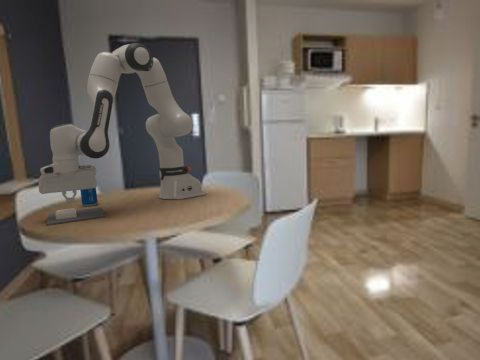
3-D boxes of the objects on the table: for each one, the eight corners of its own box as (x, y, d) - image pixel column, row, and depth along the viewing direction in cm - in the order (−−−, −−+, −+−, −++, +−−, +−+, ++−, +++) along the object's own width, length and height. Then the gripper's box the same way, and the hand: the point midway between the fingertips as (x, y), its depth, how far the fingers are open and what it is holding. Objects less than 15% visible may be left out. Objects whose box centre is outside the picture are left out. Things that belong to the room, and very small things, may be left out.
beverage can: (84, 207, 157) (81, 180, 156) (80, 205, 162) (77, 179, 161) (99, 204, 161) (96, 178, 160) (95, 202, 166) (92, 177, 165)
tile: (75, 207, 145) (56, 210, 142) (76, 211, 138) (55, 214, 135) (76, 212, 145) (56, 215, 142) (76, 216, 138) (56, 219, 135)
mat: (101, 208, 154) (101, 206, 154) (105, 217, 138) (105, 215, 138) (48, 215, 145) (48, 214, 145) (46, 225, 129) (46, 223, 129)
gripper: (94, 163, 145) (98, 197, 147) (36, 168, 137) (41, 204, 139) (96, 165, 139) (99, 200, 141) (35, 170, 131) (40, 207, 133)
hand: (70, 202), depth 140 cm, fingers closed
